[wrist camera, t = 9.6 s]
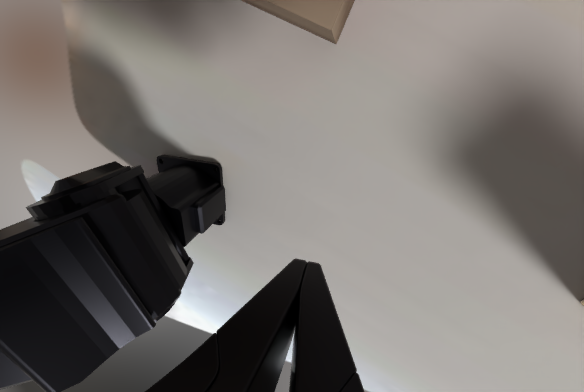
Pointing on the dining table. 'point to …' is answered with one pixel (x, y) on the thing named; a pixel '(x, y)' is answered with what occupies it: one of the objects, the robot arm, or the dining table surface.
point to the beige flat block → (310, 14)
